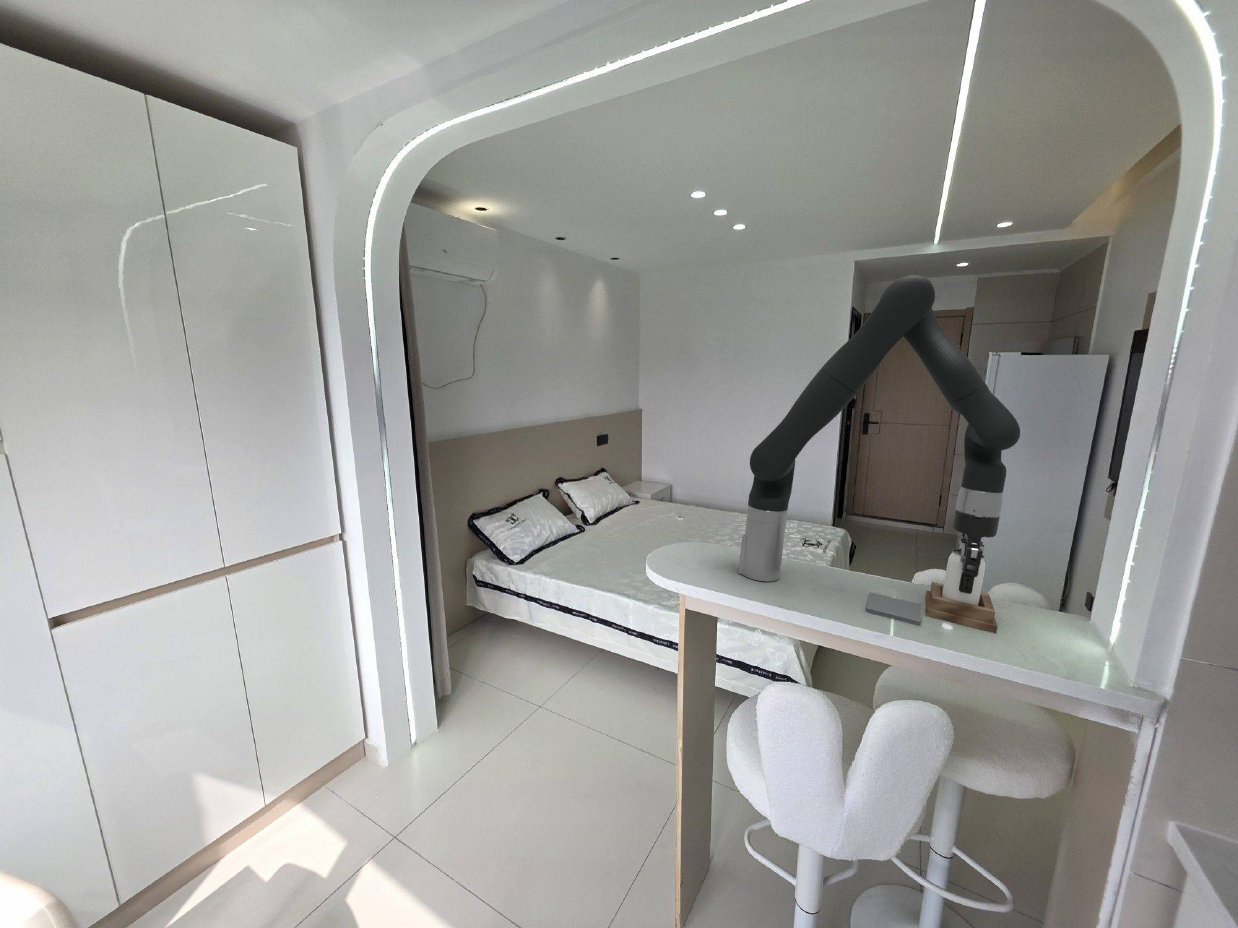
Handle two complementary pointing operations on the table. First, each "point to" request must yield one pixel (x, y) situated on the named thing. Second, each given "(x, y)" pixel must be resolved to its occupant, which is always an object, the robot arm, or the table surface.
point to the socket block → (961, 610)
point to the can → (954, 578)
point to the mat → (894, 608)
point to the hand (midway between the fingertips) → (963, 586)
